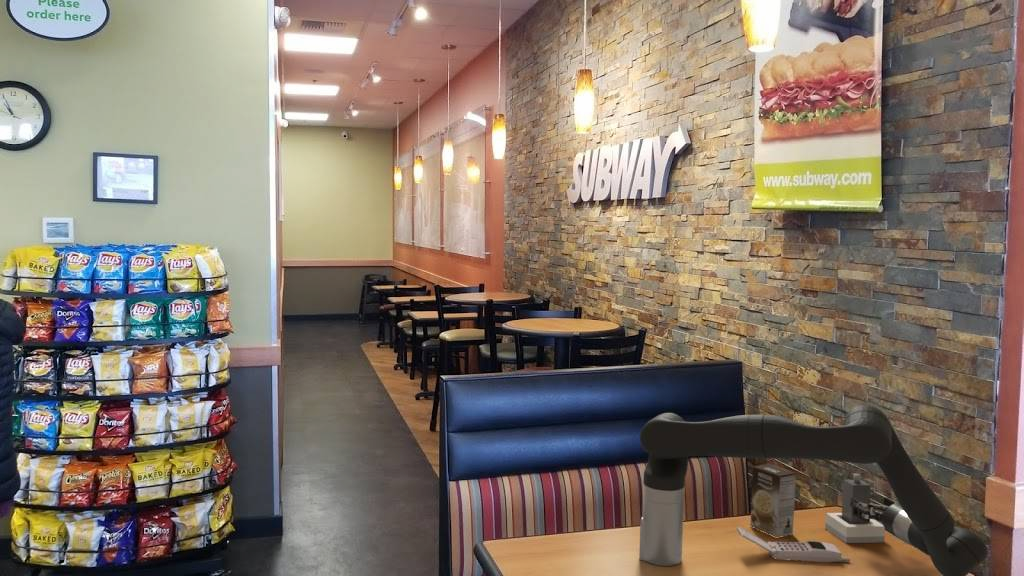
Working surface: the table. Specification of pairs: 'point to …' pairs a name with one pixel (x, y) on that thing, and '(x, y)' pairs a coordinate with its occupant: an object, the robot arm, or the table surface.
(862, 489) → the plug
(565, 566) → the table surface
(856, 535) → the socket block
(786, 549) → the mobile phone
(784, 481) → the coffee box
